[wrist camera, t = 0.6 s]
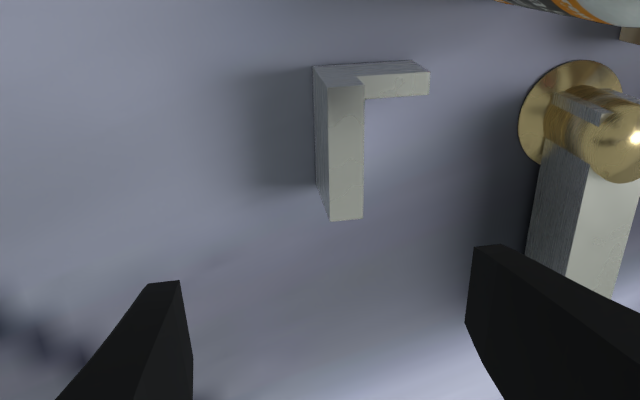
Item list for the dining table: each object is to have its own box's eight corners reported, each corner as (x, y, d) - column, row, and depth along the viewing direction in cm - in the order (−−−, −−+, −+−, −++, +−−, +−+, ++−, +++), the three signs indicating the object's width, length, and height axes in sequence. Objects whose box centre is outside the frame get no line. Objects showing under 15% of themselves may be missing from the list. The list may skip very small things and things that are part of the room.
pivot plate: (632, 56, 21) (634, 57, 21) (607, 162, 23) (609, 162, 23) (526, 63, 20) (527, 64, 20) (510, 171, 22) (511, 172, 22)
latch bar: (549, 87, 21) (605, 111, 18) (614, 82, 21) (679, 106, 18) (512, 299, 25) (551, 347, 22) (565, 292, 26) (611, 339, 23)
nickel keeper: (412, 60, 20) (443, 80, 17) (405, 176, 22) (432, 211, 19) (312, 66, 19) (327, 87, 16) (316, 184, 21) (329, 221, 18)
